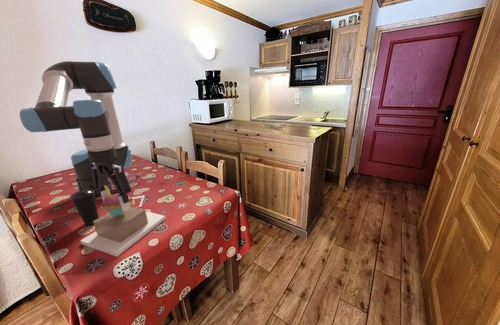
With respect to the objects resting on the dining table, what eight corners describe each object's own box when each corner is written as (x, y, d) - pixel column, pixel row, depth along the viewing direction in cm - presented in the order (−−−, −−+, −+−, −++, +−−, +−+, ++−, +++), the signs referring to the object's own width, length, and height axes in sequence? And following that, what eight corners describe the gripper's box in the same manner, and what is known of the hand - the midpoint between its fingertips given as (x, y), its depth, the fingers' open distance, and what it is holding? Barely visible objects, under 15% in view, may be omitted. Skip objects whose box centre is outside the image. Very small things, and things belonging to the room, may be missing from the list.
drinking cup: (88, 217, 88) (73, 175, 82) (107, 216, 89) (93, 174, 82) (76, 228, 81) (58, 183, 75) (96, 227, 82) (80, 182, 75)
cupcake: (103, 221, 70) (93, 190, 66) (106, 209, 77) (97, 181, 73) (131, 214, 74) (123, 184, 70) (132, 203, 81) (125, 176, 77)
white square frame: (118, 201, 102) (116, 193, 101) (145, 197, 106) (143, 188, 104) (112, 214, 91) (109, 204, 90) (141, 208, 95) (139, 199, 93)
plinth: (81, 243, 73) (75, 226, 70) (134, 211, 92) (130, 196, 90) (117, 256, 67) (111, 238, 64) (165, 218, 86) (162, 203, 83)
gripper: (68, 149, 68) (88, 208, 75) (112, 154, 60) (129, 219, 68) (91, 143, 74) (108, 198, 82) (133, 147, 67) (147, 207, 75)
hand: (117, 207), depth 75 cm, fingers closed on cupcake, 8 cm apart
